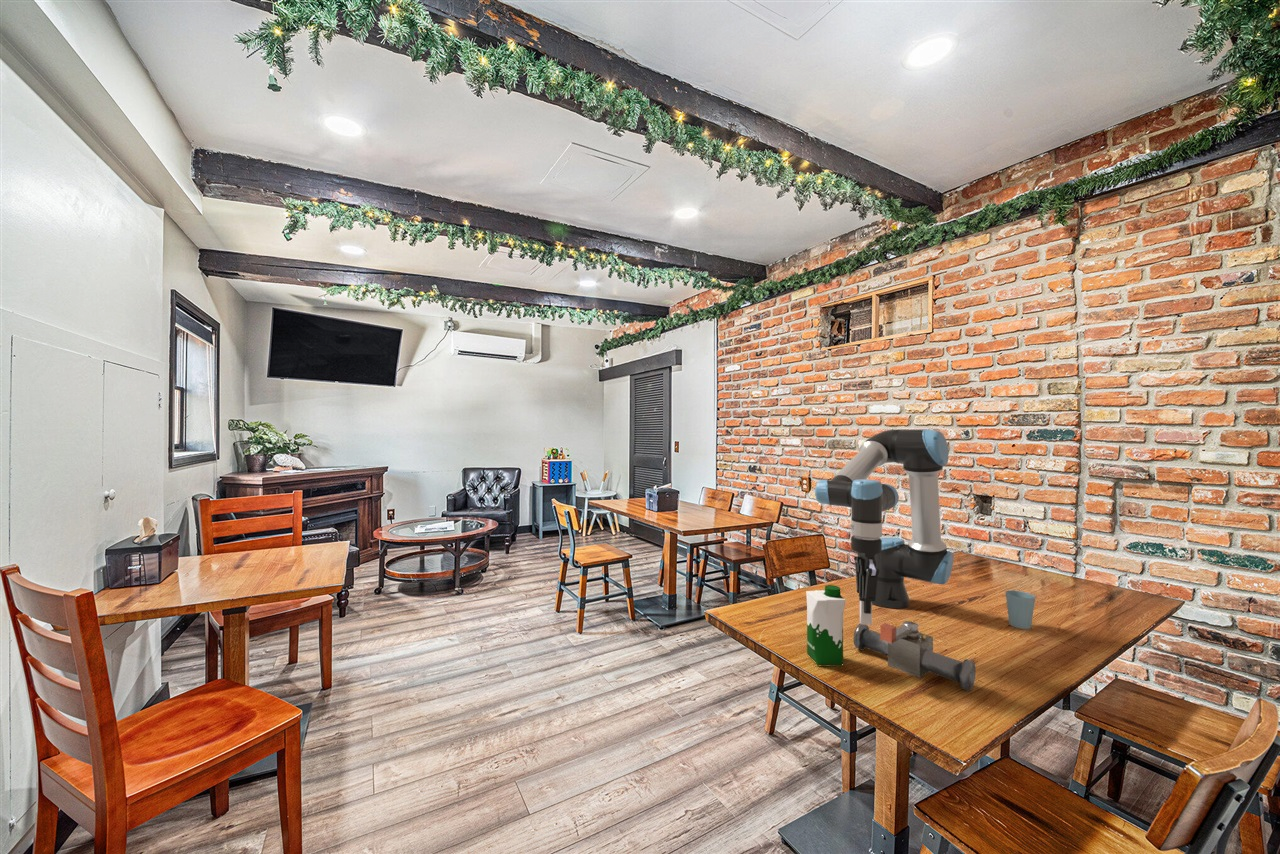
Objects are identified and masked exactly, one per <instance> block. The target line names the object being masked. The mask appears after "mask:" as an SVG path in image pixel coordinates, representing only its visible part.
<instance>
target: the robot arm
mask: <svg viewBox="0 0 1280 854" xmlns="http://www.w3.org/2000/svg"><path fill="white" fill-rule="evenodd" d="M949 453H950V452H949V446H948V442H947V439H946V437H945V435H944V434H943V433H942V431H939V430H937V429H936V430H935V429H934V430H933V429H927V428H926V429H923V428H922V429H888V430H885V431H881V432H878V433H876V434H874V435H873V436H871V437H868V439H866V440H865V441H864V442H863V443H861V445H860V446H859V448H858V452H857V453H856V454H855V455H854V456H853V457H852V458H851V459H850V460H849V461H847V463H846V464H845V465H844V466H843V467H842V468H841V469H840V470H839V471H838V472H837V473H836V475H834V476H833V477H832V478H831V479H830V480H829V479H828V478H827V479H820V480H818V481H817V482H816V484H815V487H814V488H815V489H814V496H815V499H816V501H817V502H818V503H820V504H823V505H828V506H837V507H845V508H851V523H850V524H849V527H850V529H851V535H852V536H851V537H850V545H851V546H850V548H851V550H852V551H853V552H855V553H857V556H854V557H853V560H854V566H855V567H854V568H855V581H856V582H855V583H856V593H857V594H858V600H859V624H862V625H867V626H872V624H873V605H874V606H878V607H883V608H889V609H904V608H907V607H909V606H910V597H909V594H908V591H907V588H906V585H905V578H907V579H911V580H915V581H922V582H926V583H930V584H938V585H945V584H946V583H948V581H949V579H950V576H951V575H952V570H953V566H954V553H953V552H952V551H950V550H948V549H947V544H946V542H945V541H943V540H942V533H941V513H940V492H939V473H941V472H942V471H943V469H944V468H943V466H946V465H947V464H948V462H949V455H950V454H949ZM886 463H895V464H896V463H897V464H902V467H903V471H905V472H906V473H907V474H908V483H909V498H910V499H909V500H910V517H911V533H912V538H911V539H909V541H908V542H907V544H906V542H905V540H904V539H903V538H899V537H882V536H883V512H887V511H890V510H891V509H892V508H894V507H896V505H897V504H898V503H899V498H900V497H899V493H898V491H897V489H896V488H895V487H894V486H893V485H891V484H888V483H882V482H881V481H880V480H877V479H876V480H875V479H869V477H870V476H871V474H873V472H874V471H875V470H876V469H877V468H878V467H881V466H883V465H885V464H886Z"/></svg>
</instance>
